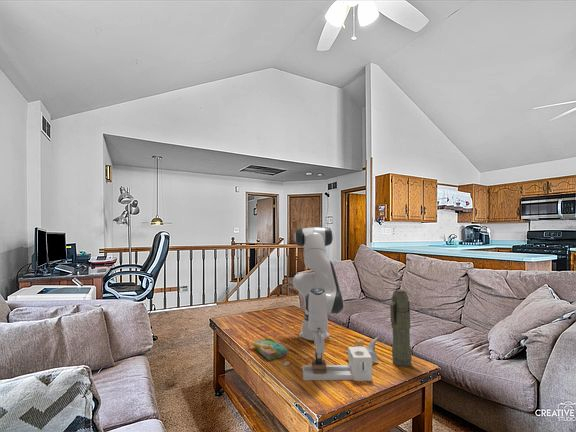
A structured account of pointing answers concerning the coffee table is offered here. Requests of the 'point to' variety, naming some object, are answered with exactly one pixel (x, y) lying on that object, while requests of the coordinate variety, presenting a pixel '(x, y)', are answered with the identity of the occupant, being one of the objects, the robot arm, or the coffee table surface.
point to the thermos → (401, 329)
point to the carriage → (318, 364)
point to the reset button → (359, 342)
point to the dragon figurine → (371, 349)
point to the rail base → (345, 368)
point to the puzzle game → (270, 348)
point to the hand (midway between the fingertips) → (318, 355)
